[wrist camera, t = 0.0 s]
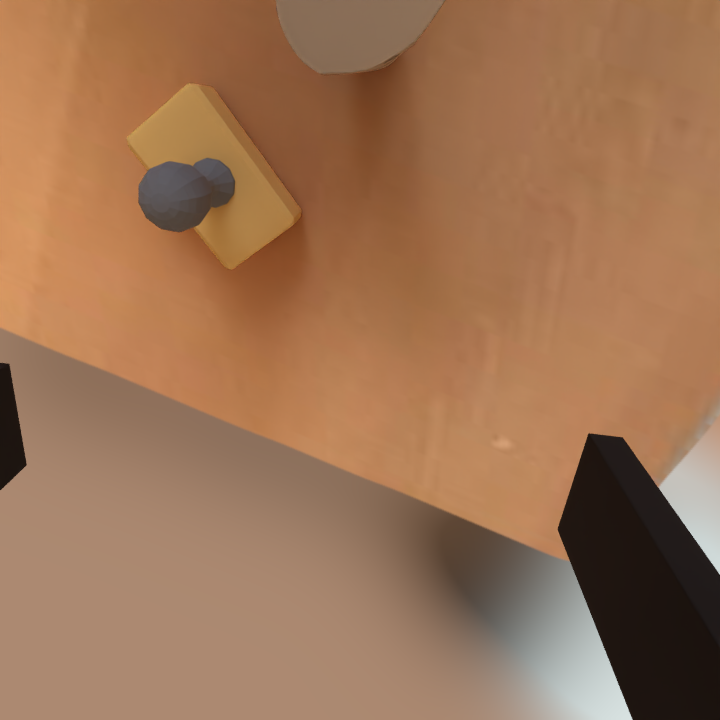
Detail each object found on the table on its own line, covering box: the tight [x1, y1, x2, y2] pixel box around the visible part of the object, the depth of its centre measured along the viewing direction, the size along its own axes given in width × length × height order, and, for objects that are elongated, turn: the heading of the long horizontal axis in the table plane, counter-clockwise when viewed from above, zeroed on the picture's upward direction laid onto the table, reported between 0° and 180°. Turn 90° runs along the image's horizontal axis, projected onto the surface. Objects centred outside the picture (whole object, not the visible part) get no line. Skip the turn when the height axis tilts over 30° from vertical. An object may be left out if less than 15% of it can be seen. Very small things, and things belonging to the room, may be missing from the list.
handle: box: [276, 0, 445, 75], centre depth 27 cm, size 5×6×15 cm
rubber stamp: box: [127, 83, 302, 270], centre depth 32 cm, size 10×6×12 cm, turn 35°
